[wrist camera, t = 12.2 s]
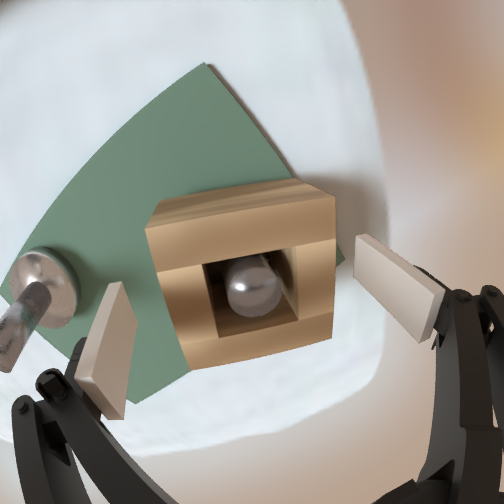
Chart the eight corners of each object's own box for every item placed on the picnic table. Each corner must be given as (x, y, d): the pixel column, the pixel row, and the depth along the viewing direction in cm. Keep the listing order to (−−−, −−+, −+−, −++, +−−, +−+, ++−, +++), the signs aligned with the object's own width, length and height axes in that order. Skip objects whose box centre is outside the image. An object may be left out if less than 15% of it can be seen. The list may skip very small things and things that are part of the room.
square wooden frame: (160, 200, 17) (144, 228, 12) (294, 178, 18) (335, 196, 13) (188, 314, 21) (190, 370, 15) (300, 291, 22) (331, 338, 17)
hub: (159, 235, 20) (142, 290, 13) (243, 166, 19) (274, 183, 12) (226, 302, 23) (241, 371, 16) (301, 244, 23) (349, 294, 15)
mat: (-1, 289, 18) (-2, 291, 18) (203, 63, 16) (204, 62, 16) (135, 401, 27) (135, 404, 27) (343, 257, 24) (345, 259, 24)
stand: (9, 278, 18) (-45, 342, 9) (40, 229, 17) (-31, 290, 8) (59, 327, 21) (23, 405, 12) (95, 288, 20) (55, 373, 11)
